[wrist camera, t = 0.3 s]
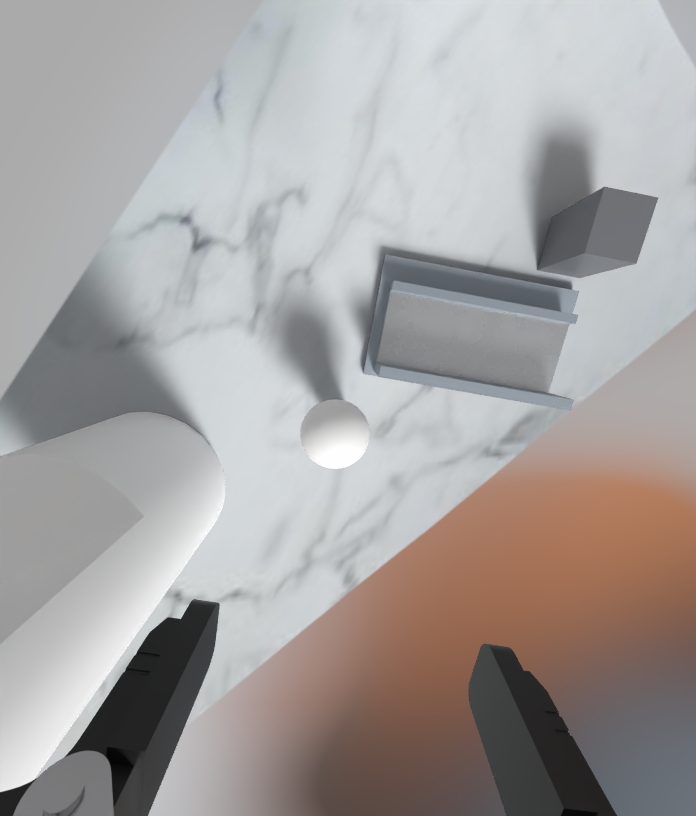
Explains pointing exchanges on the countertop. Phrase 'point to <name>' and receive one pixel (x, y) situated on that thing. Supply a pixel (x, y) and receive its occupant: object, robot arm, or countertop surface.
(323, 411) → the lightbulb
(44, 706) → the cylinder
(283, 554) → the countertop surface
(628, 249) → the block
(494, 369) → the plate
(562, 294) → the grey stepped stand
